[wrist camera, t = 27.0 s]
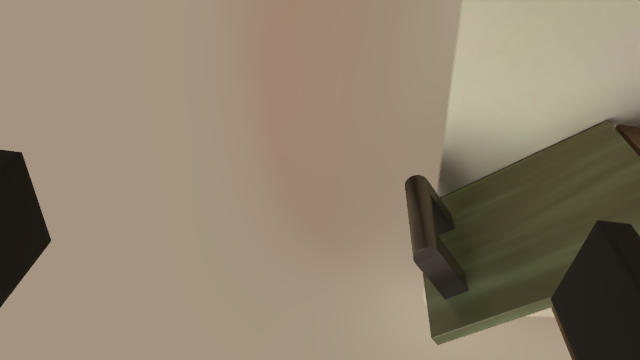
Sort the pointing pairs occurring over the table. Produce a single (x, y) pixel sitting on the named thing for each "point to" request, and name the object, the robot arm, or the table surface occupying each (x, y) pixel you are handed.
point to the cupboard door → (517, 229)
